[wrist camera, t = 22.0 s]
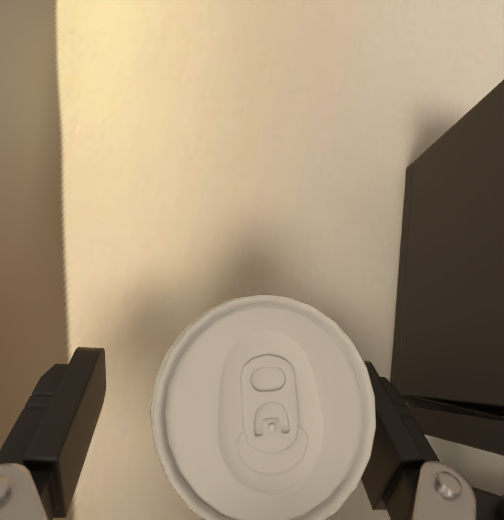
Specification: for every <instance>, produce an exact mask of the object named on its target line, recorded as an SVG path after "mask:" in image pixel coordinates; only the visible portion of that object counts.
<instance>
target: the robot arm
mask: <svg viewBox="0 0 504 520" xmlns="http://www.w3.org/2000/svg"><path fill="white" fill-rule="evenodd" d="M363 362H364V363H365V365H366V367H367V370H368V374H369V378H370V381H371V385H372V389H373V392H374V396H375V418H376V429H375V434H374V439H373V445H372V450H371V456H370V459H369V461H368V463H367V466H366V468H365V470H364V472H363V474H362V477H361V479H362V482H363V485H364V487H365V490H366V493H367V495H368V498H369V501H370V504H371V506H372V509H373V510H385V509H387V511H388V513H389V516H390V518H391V519H390V520H504V496H503V497H502V496H499V495H496V494H492V493H489V492H486V491H483V490H480V489H477V488H474V487H471V486H470V484H469V483H468V481H467V480H466V479H465V478H464V477H463V476H462V475H461V474H460V473H459V472H458V471H457V470H455V469H454V468H452V467H451V466H449V465H447V464H445V463H442V462H440V461H439V459H438V458H437V456H436V454H435V453H434V451H433V449H432V447H431V446H430V444H429V442H428V441H427V439H426V437H425V436H424V434H423V432H422V431H421V429H420V427H419V426H418V424H417V422H416V420H415V419H414V417H412V414H411V412H410V410H409V409H408V407H407V405H405V402H404V400H403V398H402V397H401V395H400V393H399V392H398V390H397V389H396V388H395V387H394V386H393V385H392V384H391V383H390V382H389V381H388V380H387V379H386V378H385V377H379V375H378V373H377V371H376V370H375V368H374V366H373V364H372V363H371V362H369V361H363ZM105 391H106V368H105V350H104V348H88V347H78V348H77V349H76V350H75V352H74V354H73V356H72V358H71V360H70V362H69V364H55V365H54V366H53V367H52V368H51V369H50V370H48V371H47V372H46V373H45V374H44V375H43V376H42V377H41V378H40V380H39V381H38V383H37V385H36V387H35V389H34V391H33V392H32V396H30V398H29V400H28V401H27V403H26V405H25V409H23V411H22V412H21V414H20V416H19V417H18V419H17V421H16V423H15V425H14V426H13V428H12V430H11V432H10V434H9V436H8V438H7V439H6V441H5V443H4V444H3V446H2V448H1V450H0V520H52V519H53V518H60V517H61V518H62V517H67V514H68V511H69V508H70V504H71V501H72V498H73V495H74V492H75V489H76V486H77V483H78V480H79V477H80V473H81V470H82V467H83V464H84V461H85V458H86V455H87V452H88V449H89V446H90V443H91V439H92V436H93V433H94V430H95V427H96V424H97V421H98V418H99V415H100V412H101V409H102V405H103V402H104V398H105Z"/></svg>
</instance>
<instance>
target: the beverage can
mask: <svg viewBox="0 0 504 520" xmlns="http://www.w3.org/2000/svg"><path fill="white" fill-rule="evenodd" d="M150 414H151V423H152V431H153V440H154V447H155V449H156V452H157V454H158V457H159V460H160V462H161V465H162V467H163V470H164V472H165V475H166V477H167V478H168V480H169V481H170V483H171V485H172V486H173V487H174V489H175V490H176V491H177V492H178V494H179V495H180V496H181V498H182V499H183V500H184V502H185V503H186V504H187V506H188V507H189V508H190V509H191V511H193V512H194V513H196V514H197V515H198V516H200V517H201V518H202V519H204V520H325V519H327V518H328V517H330V516H331V515H333V514H334V513H335V512H337V511H338V510H339V508H340V507H341V506H342V505H343V503H344V502H345V501H346V500H347V498H348V497H349V496H350V495H351V493H352V492H353V491H354V490H355V488H356V487H357V485H358V483H359V481H360V479H361V477H362V474H363V472H364V470H365V468H366V466H367V463H368V461H369V459H370V456H371V450H372V445H373V439H374V434H375V429H376V418H375V396H374V392H373V389H372V385H371V381H370V378H369V374H368V370H367V367H366V365H365V363H364V362H363V360H362V358H361V356H360V354H359V352H358V350H357V348H356V346H355V345H354V343H353V341H352V340H351V339H350V338H349V337H348V336H347V335H346V334H345V332H344V331H343V330H342V329H341V328H340V327H339V326H338V324H337V323H336V322H335V321H333V320H332V319H330V318H329V317H328V316H326V315H325V314H323V313H322V312H321V311H319V310H318V309H316V308H315V307H313V306H311V305H308V304H306V303H303V302H300V301H298V300H295V299H292V298H289V297H282V296H273V295H263V294H262V295H253V296H247V297H241V298H235V299H230V300H228V301H225V302H223V303H221V304H219V305H217V306H214V307H212V308H210V309H208V310H206V311H204V312H203V313H202V314H201V315H200V316H198V317H197V318H196V319H195V320H193V321H192V322H191V323H190V324H189V325H187V326H186V327H185V328H184V329H183V330H182V332H181V333H180V334H179V336H178V337H177V339H176V340H175V341H174V343H173V344H172V345H171V347H170V348H169V349H168V351H167V352H166V354H165V357H164V359H163V362H162V364H161V367H160V369H159V372H158V374H157V377H156V379H155V384H154V391H153V398H152V405H151V412H150Z"/></svg>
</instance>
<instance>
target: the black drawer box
mask: <svg viewBox="0 0 504 520" xmlns="http://www.w3.org/2000/svg"><path fill="white" fill-rule="evenodd" d="M391 384H392V385H393V386H394V387H395V388H396V389H397V390H398V392H399V393H400V395H404V396H409V397H413V398H417V399H421V400H426V401H430V402H434V403H439V404H443V405H447V406H452V407H456V408H460V409H465V410H469V411H473V412H477V413H482V414H486V415H490V416H495V417H499V418H503V419H504V80H503V81H502V82H501V83H499V84H498V85H497V86H496V87H495V88H494V89H493V90H492V91H491V92H490V93H489V94H487V95H486V96H485V97H484V98H483V99H482V100H481V101H480V102H479V103H478V104H476V105H475V106H474V107H473V108H472V109H471V110H470V111H469V112H468V113H467V114H465V115H464V116H463V117H462V118H461V119H460V120H459V121H458V122H457V123H456V124H455V125H453V126H452V127H451V128H450V129H449V130H448V131H447V132H446V133H445V134H444V135H442V136H441V137H440V138H439V139H438V140H437V141H436V142H435V143H434V144H433V145H431V146H430V147H429V148H428V149H427V150H426V151H425V152H424V153H423V154H422V155H421V156H419V157H418V158H417V159H416V160H415V161H414V163H412V164H411V165H410V166H409V167H408V168H407V173H406V186H405V199H404V213H403V226H402V239H401V253H400V266H399V279H398V293H397V306H396V319H395V333H394V346H393V359H392V373H391Z"/></svg>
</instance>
